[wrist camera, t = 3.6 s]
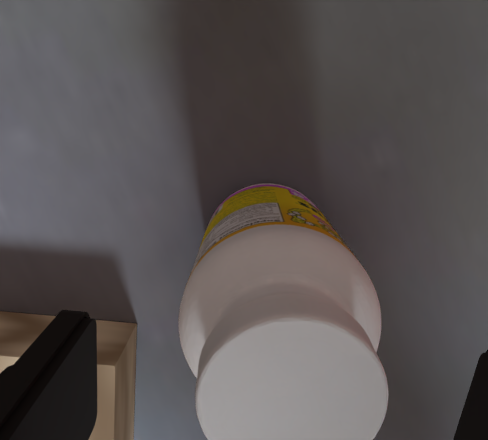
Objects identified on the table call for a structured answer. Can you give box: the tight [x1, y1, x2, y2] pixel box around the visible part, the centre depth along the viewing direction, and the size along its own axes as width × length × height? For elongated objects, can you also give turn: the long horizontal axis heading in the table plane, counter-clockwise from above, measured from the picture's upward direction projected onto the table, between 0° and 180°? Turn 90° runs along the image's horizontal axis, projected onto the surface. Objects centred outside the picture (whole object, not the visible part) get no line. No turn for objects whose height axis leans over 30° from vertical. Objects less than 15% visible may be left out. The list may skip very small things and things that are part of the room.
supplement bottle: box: [179, 183, 389, 440], centre depth 15 cm, size 7×7×13 cm
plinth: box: [0, 311, 137, 440], centre depth 23 cm, size 14×14×4 cm
